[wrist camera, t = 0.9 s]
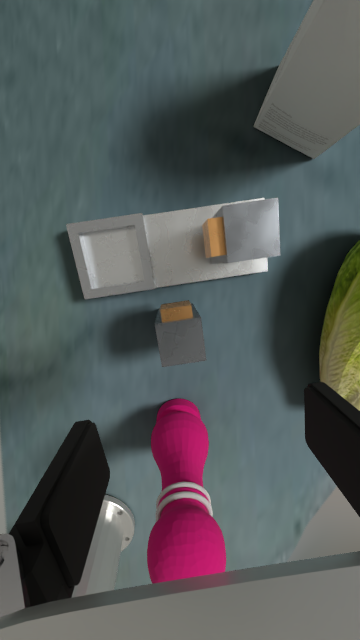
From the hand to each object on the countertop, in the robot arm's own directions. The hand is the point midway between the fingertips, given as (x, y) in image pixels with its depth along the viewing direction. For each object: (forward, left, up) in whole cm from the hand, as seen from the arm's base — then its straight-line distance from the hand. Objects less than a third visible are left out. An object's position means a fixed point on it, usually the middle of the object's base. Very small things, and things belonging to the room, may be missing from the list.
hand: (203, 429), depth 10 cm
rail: (+9, 0, -20) cm, 22 cm away
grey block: (0, 0, -20) cm, 20 cm away
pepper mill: (-14, +2, -20) cm, 25 cm away
